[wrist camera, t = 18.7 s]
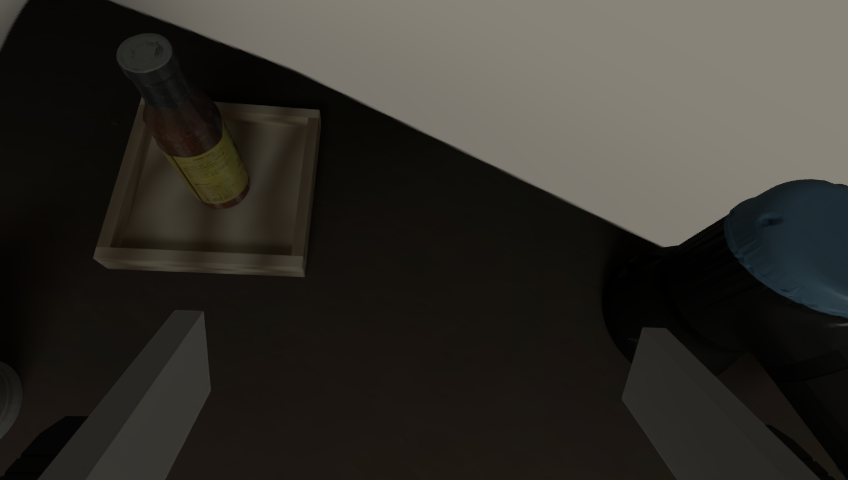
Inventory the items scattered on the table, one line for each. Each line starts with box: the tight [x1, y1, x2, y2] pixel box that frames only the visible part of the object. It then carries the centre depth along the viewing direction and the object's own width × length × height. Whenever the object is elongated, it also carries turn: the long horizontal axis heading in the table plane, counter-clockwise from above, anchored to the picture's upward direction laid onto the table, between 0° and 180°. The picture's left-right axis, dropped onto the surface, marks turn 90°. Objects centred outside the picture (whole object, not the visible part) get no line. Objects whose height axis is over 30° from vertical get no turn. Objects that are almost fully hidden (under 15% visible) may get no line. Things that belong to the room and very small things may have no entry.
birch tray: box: [93, 98, 321, 277], centre depth 53 cm, size 20×20×3 cm
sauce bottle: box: [117, 33, 250, 209], centre depth 44 cm, size 7×6×20 cm
